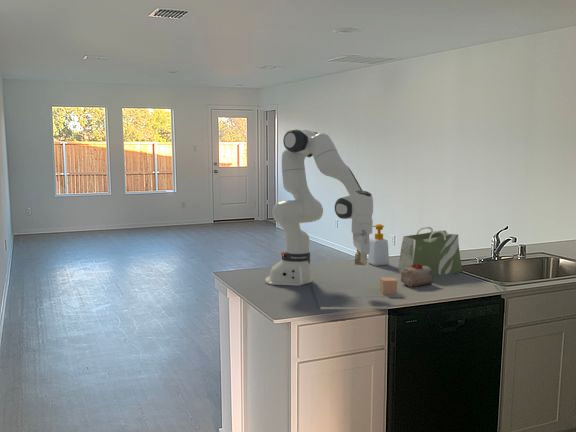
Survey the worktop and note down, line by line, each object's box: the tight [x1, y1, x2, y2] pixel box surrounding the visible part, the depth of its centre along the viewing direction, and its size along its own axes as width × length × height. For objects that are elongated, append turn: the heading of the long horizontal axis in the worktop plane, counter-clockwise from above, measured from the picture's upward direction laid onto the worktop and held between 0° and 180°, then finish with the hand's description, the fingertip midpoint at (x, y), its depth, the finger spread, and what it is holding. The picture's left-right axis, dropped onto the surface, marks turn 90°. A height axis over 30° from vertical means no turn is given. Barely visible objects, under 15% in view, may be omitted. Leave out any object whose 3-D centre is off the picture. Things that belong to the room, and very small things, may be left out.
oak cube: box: [354, 251, 368, 266], centre depth 239 cm, size 4×4×4 cm
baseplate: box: [344, 287, 407, 298], centre depth 241 cm, size 24×14×1 cm, turn 93°
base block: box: [379, 276, 398, 294], centre depth 241 cm, size 6×6×6 cm
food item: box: [400, 264, 433, 288], centre depth 260 cm, size 14×8×10 cm, turn 115°
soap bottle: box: [367, 223, 390, 267], centre depth 304 cm, size 10×14×22 cm
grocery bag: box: [397, 226, 464, 277], centre depth 285 cm, size 32×14×23 cm, turn 115°
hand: (360, 260), depth 240 cm, fingers closed on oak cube, 5 cm apart
